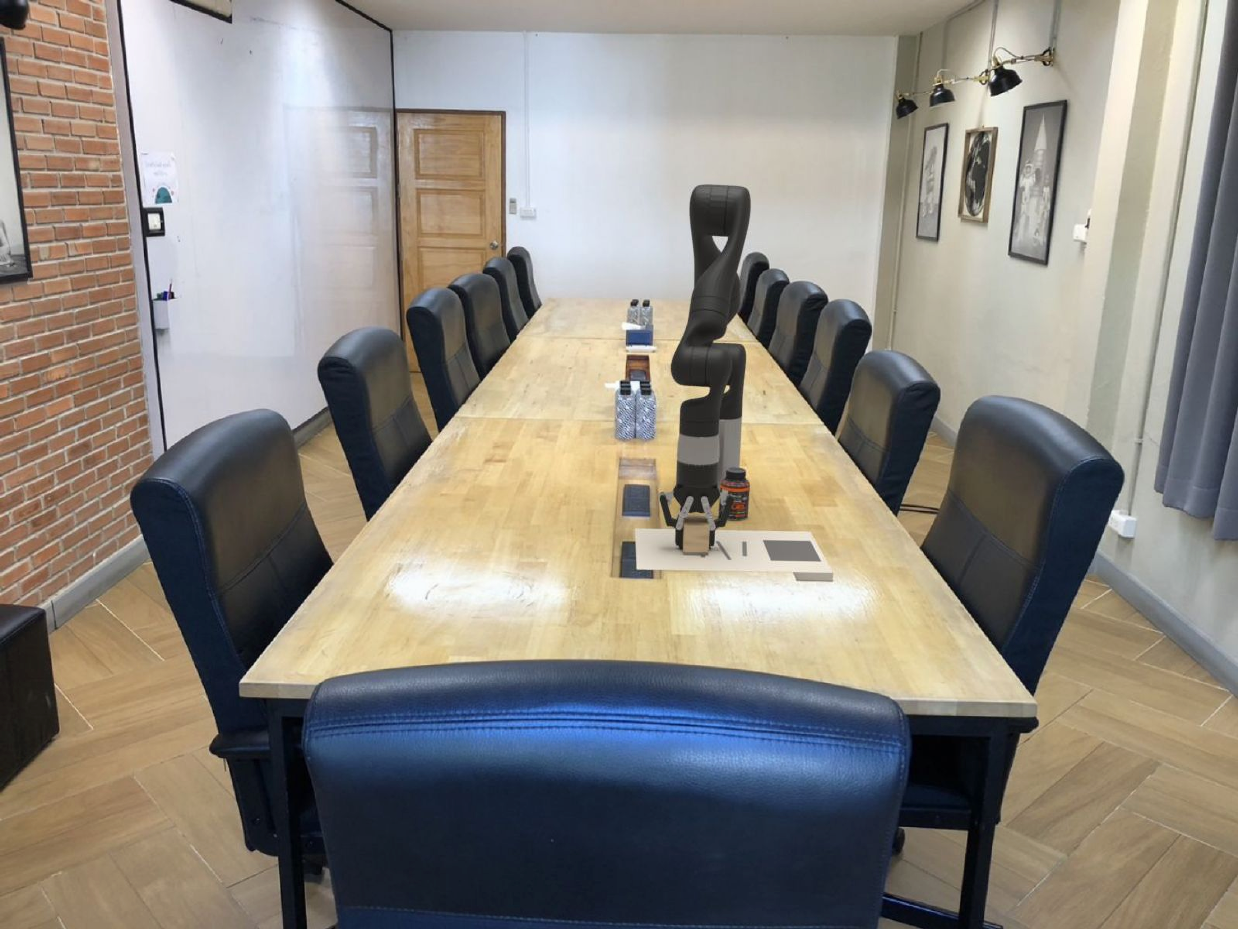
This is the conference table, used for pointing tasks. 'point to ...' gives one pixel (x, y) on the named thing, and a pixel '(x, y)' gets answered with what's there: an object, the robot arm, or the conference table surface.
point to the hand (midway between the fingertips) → (694, 547)
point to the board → (737, 553)
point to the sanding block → (696, 535)
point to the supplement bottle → (736, 493)
